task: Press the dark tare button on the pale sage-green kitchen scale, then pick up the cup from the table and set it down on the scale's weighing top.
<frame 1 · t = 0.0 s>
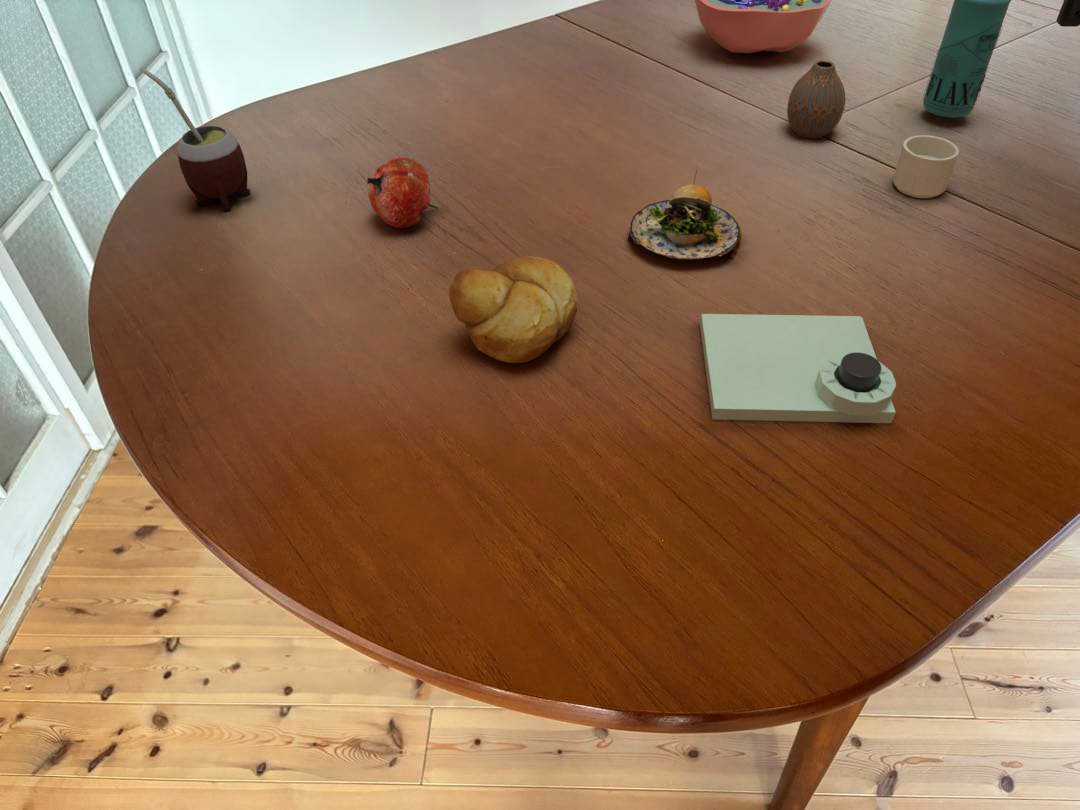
hand: (1051, 9, 87), 19 cm above the table, tool pointing down, fingers open, 8 cm apart
scale: (789, 371, 77), on the table
burger: (683, 242, 93), on the table
cup: (918, 187, 100), on the table
pomegranate: (407, 220, 97), on the table
vase: (810, 132, 111), on the table
tare button: (858, 372, 72), point 4 cm above the table, slide at 0.2 cm
cell model: (752, 50, 130), on the table
bread roll: (527, 333, 82), on the table
mate gourd: (220, 200, 102), on the table
beverage bottle: (943, 119, 113), on the table
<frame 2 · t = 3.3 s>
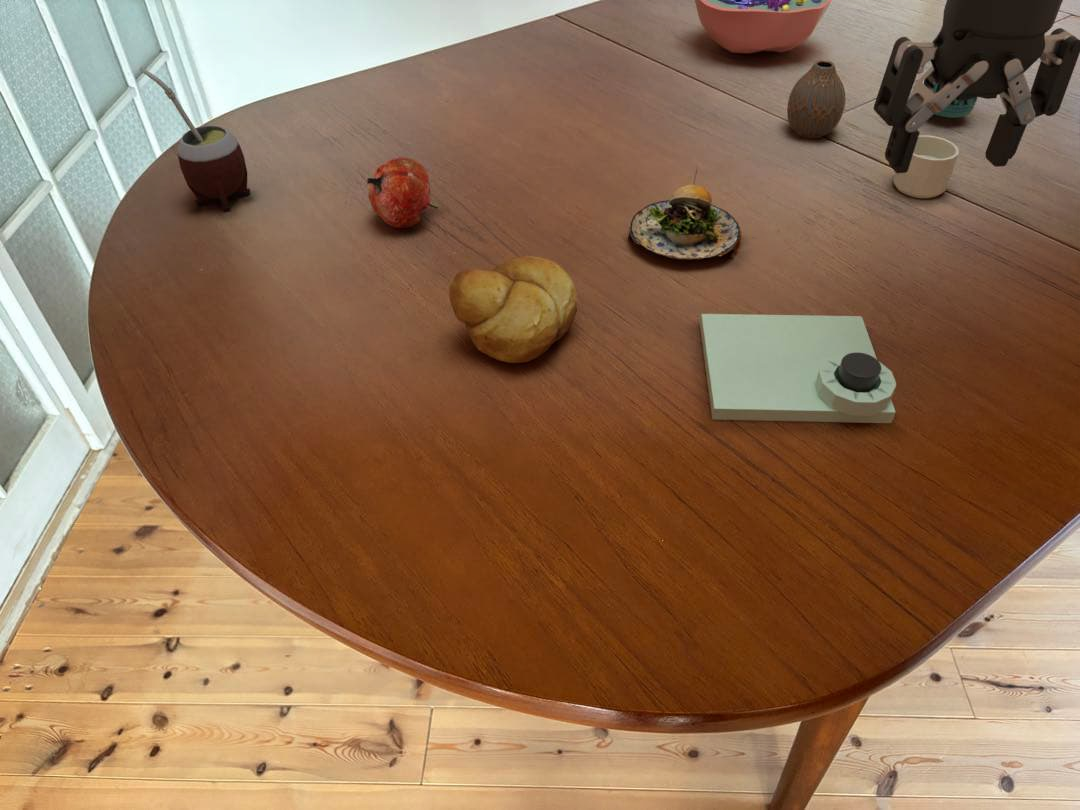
hand: (946, 165, 71), 16 cm above the table, tool pointing down, fingers open, 8 cm apart
nothing on the table moved.
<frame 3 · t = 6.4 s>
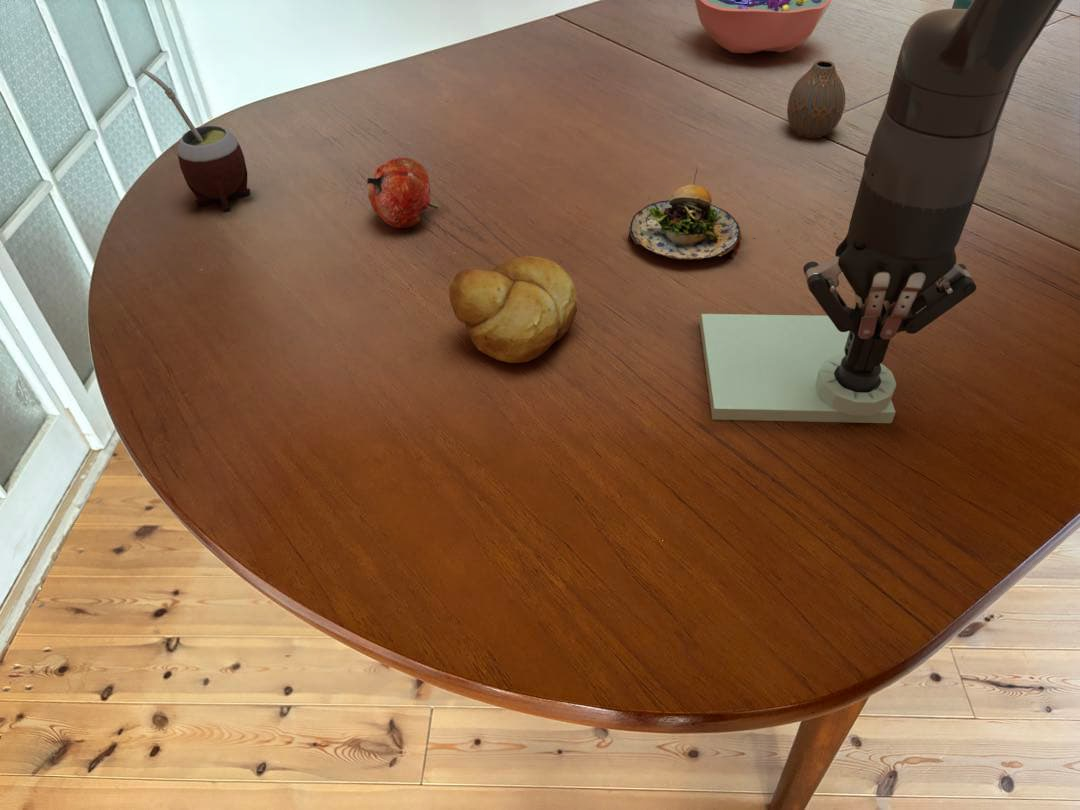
hand: (860, 365, 71), 4 cm above the table, tool pointing down, fingers closed
tare button: (858, 372, 72), point 3 cm above the table, slide at 0.1 cm, touching gripper
everything else where it was.
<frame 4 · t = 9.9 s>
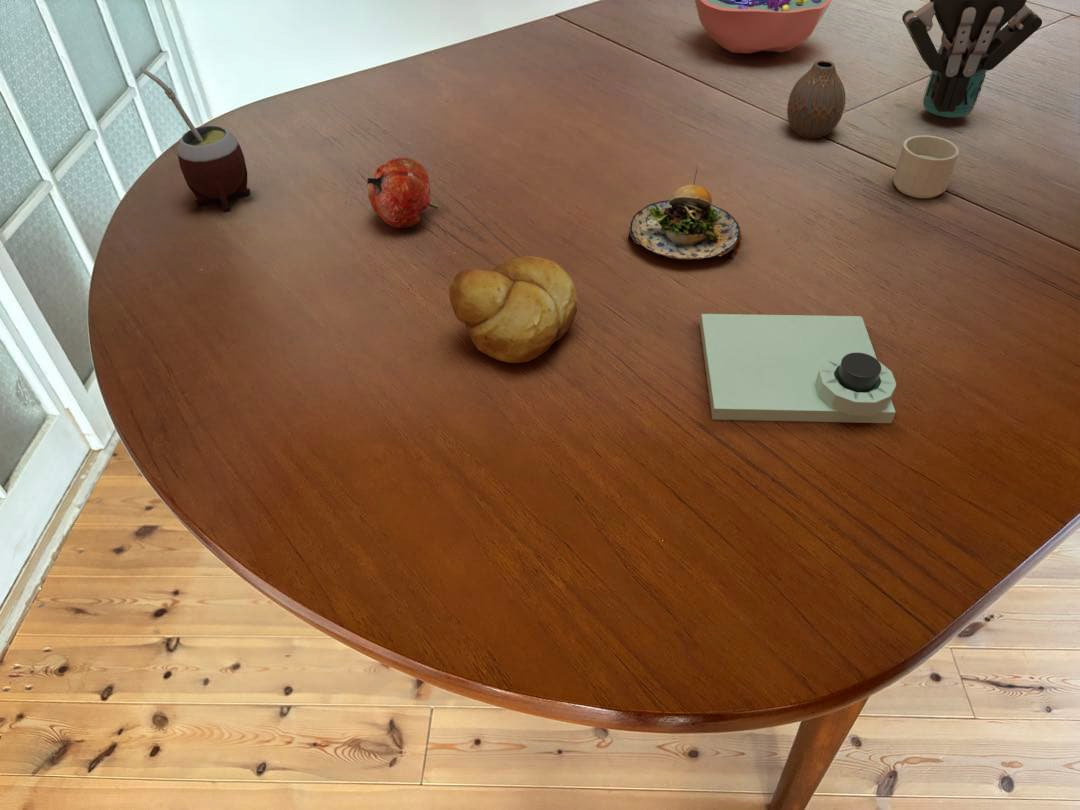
hand: (943, 108, 88), 12 cm above the table, tool pointing down, fingers closed
tare button: (858, 372, 72), point 4 cm above the table, slide at 0.1 cm
everything else where it was.
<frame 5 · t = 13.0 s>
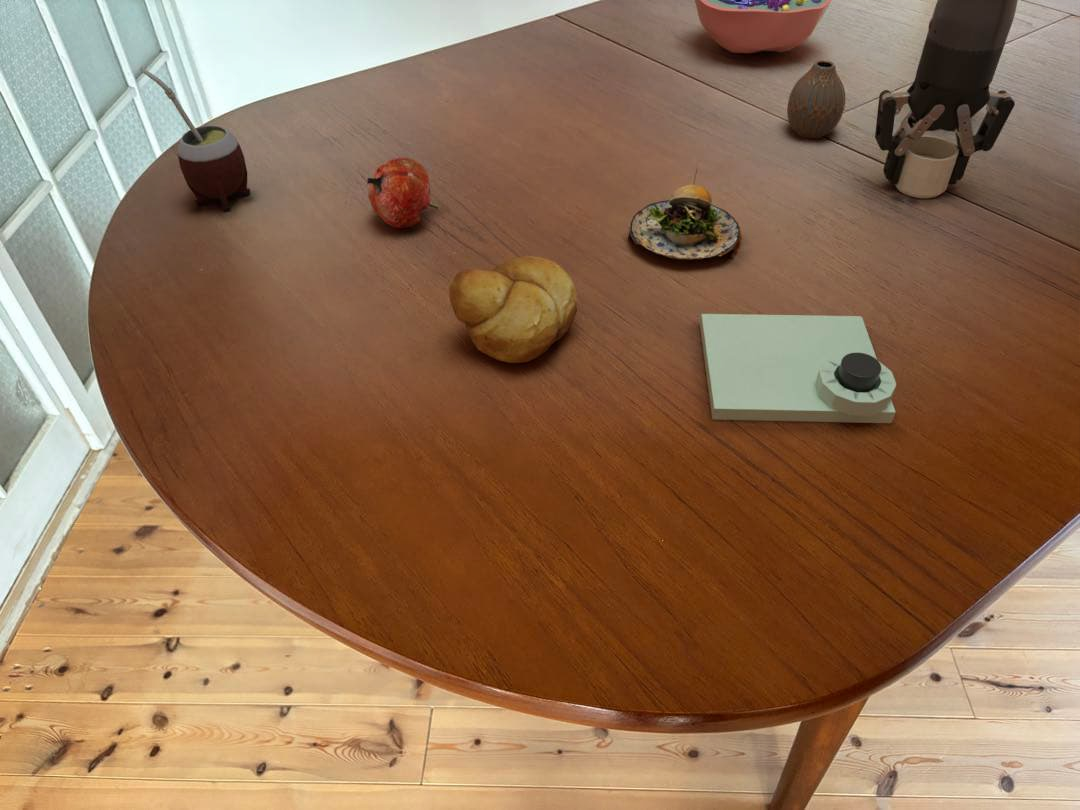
hand: (920, 181, 99), 1 cm above the table, tool pointing down, fingers closed on cup, 6 cm apart
cup: (918, 187, 100), on the table, touching gripper
everything else where it was.
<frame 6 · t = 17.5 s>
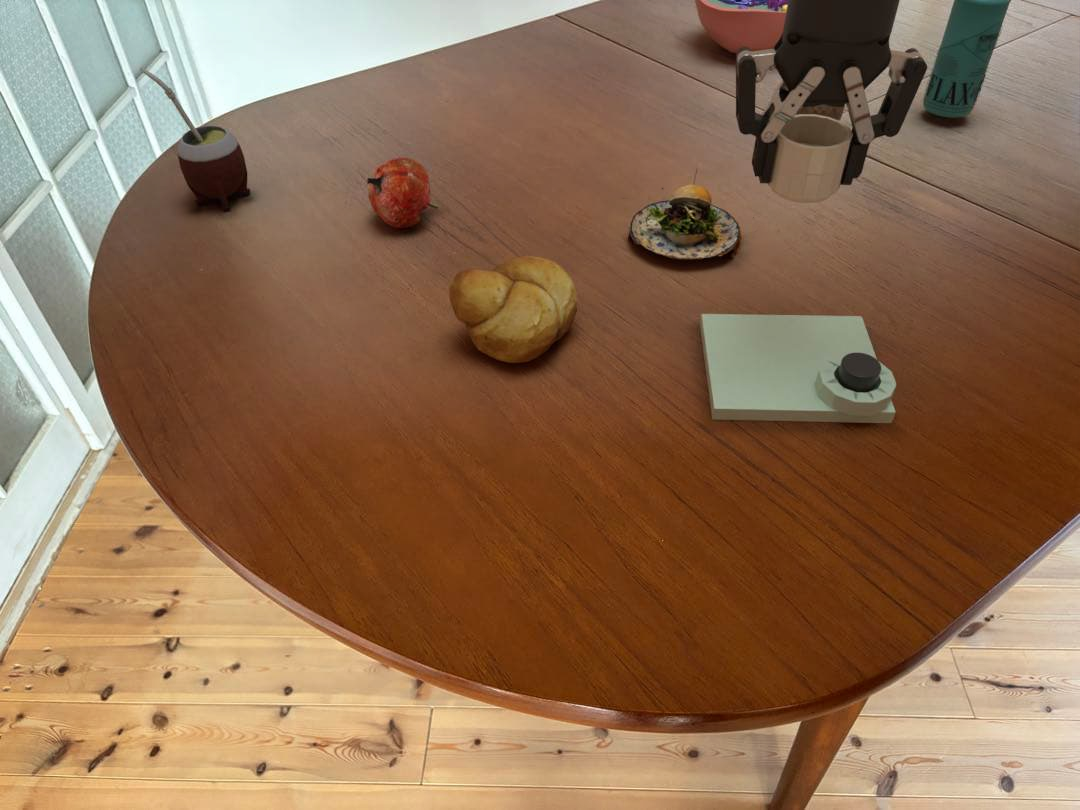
hand: (803, 179, 71), 16 cm above the table, tool pointing down, fingers closed on cup, 6 cm apart
cup: (801, 187, 71), point 15 cm above the table, touching gripper
everything else where it was.
when the fingers open (2 cm above the table, at t = 22.3 s): cup stays where it is, resting on scale.
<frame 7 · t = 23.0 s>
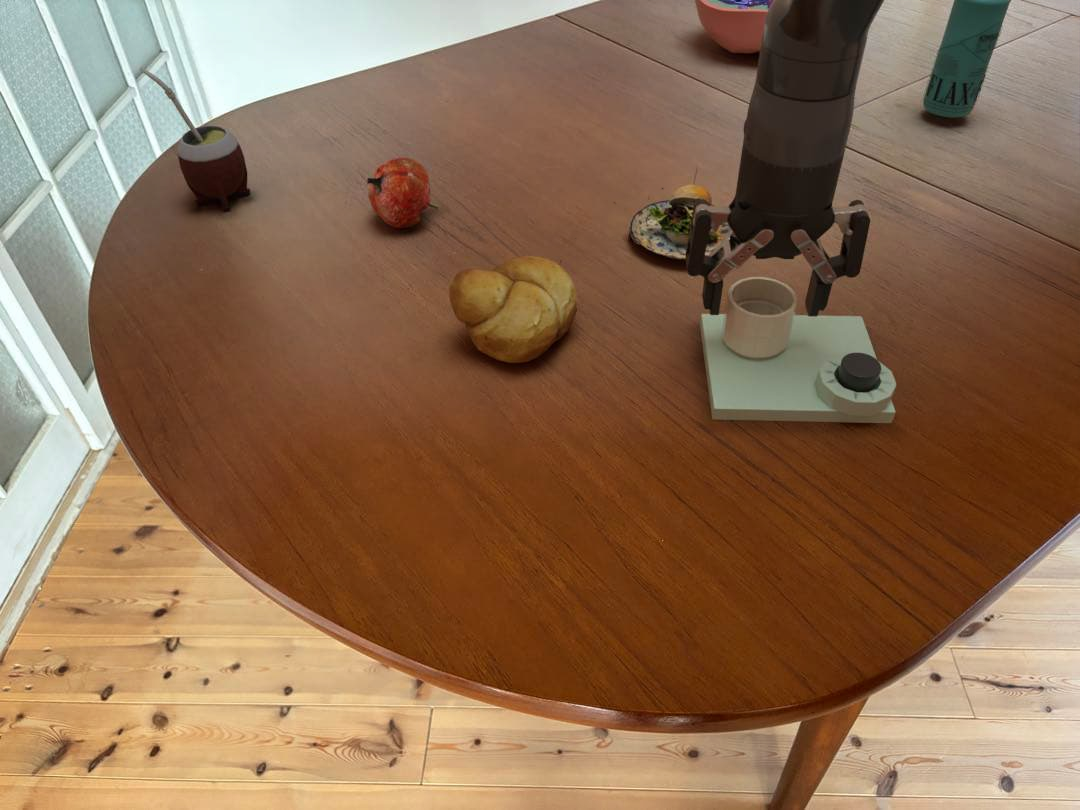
hand: (762, 310, 76), 5 cm above the table, tool pointing down, fingers open, 8 cm apart
cup: (754, 340, 78), point 1 cm above the table, touching scale
everything else where it was.
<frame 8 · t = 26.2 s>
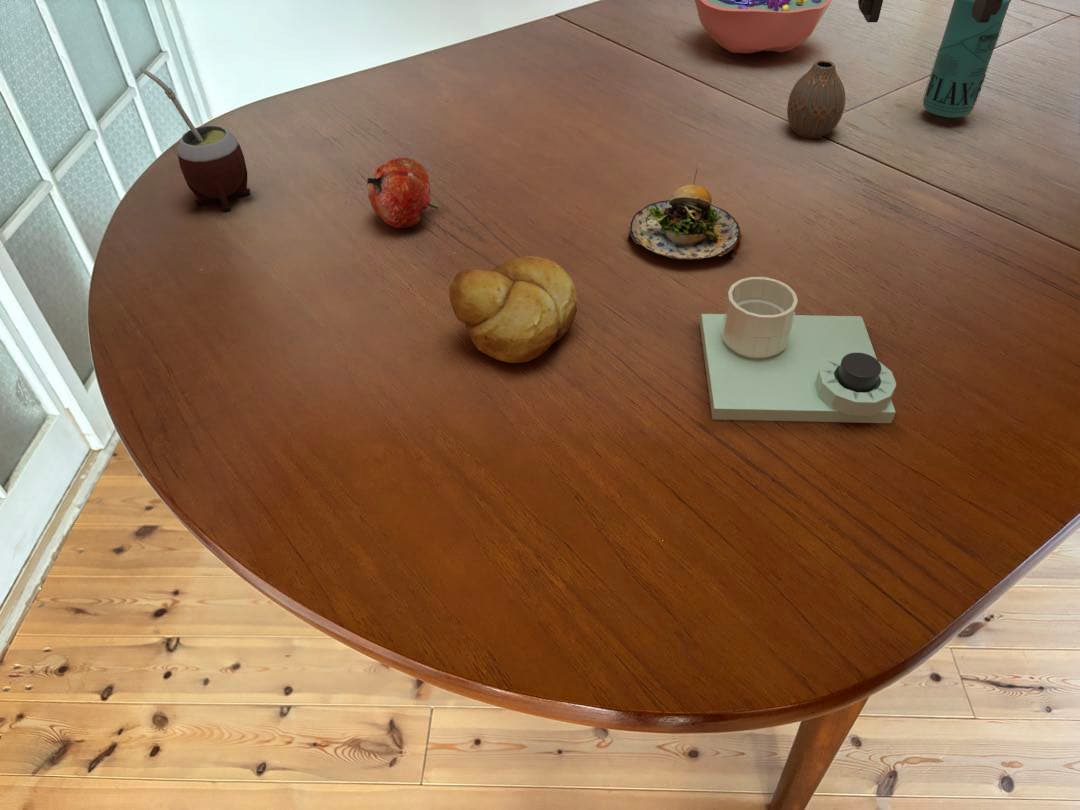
hand: (924, 19, 68), 26 cm above the table, tool pointing down, fingers open, 8 cm apart
nothing on the table moved.
at the end: tare button pushed in 0.9 cm at the most during the clip, back to where it started at the end; cup inside the target area on the scale (4.0 cm from its centre), point 1.4 cm above the scale's base; cup touching scale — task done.
